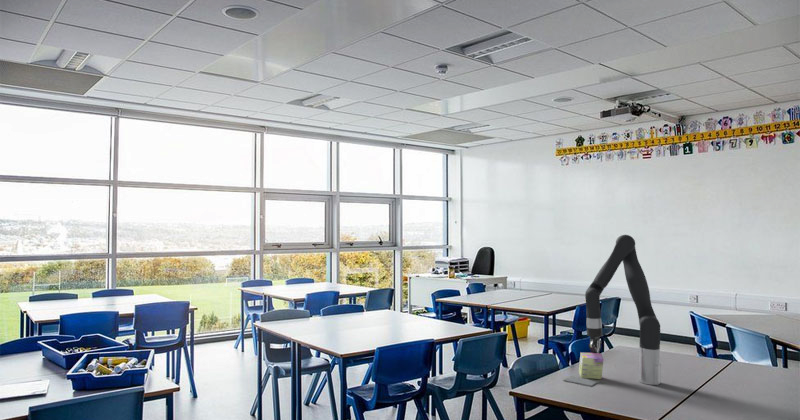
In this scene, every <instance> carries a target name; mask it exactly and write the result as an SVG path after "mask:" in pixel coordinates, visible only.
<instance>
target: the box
mask: <svg viewBox="0 0 800 420" xmlns="http://www.w3.org/2000/svg"><path fill="white" fill-rule="evenodd" d="M579 356H580V357H579V363H578V364H579V365H578V374H579V377H580V378H585V379H592V380H594V379H597V380H602V376H603V367H604V361H605V360H604V356H603V355H602V353H600V352H599V353H592V352H581V351H580V355H579Z"/></svg>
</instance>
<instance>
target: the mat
mask: <svg viewBox="0 0 800 420" xmlns="http://www.w3.org/2000/svg"><path fill="white" fill-rule="evenodd" d="M563 382H567V383H572V384H576V385H581V386H586V387H590V388H591V387H593V386H596V385H597V384H598V383H599V382H600V381H598V380H594V379H591V378H581V377H580V376H579V377H578V376H575V375H574V376H573V375H570V376H568V377H566V378H564V379H563Z"/></svg>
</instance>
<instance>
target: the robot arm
mask: <svg viewBox="0 0 800 420" xmlns="http://www.w3.org/2000/svg"><path fill="white" fill-rule="evenodd" d="M636 250H637V249H636V241H635V239H634V238H633V236H631V235H629V234H621V235H620V236H618V237H617V238H616V240H615V244H614V247H613V249H612V251H611V253H610V256H608V258H607V260H606V262H605V263H603V265H602V266H601V268H600V269H599V271H598V272H597V274H596V275H595V277H594V279H593V281H592V282H591V283H590V285H589V286H588V287H587V289H586V291H585V293H584V294H585V295H584V297H585V306H586V307H585V308H586V310H585V311H586V312H585V313H586V321H585V322H586V335H587V337H590V340H589V343H588V347H589V351H590V353H600V351H601V348H602V347H601V346H602V342H603V341H602V340H601V339H600V337H602V336H603V325H602V324H603V322H602V318H601V317H602V316H601V315H602V314H601V308H600V307H601V304H600V301H601V300H600V297H601V294H602V293H603V292H604V289H605V288H606V287H607V286H609V284H610V282H611V281H612V278H613V277H614V275H615V274H616V271H618V268H619V267H620V265H621V264H622V263H623V270H624V276H625V280H626V283H627V287H628V290H629V293H630V296H631V299H632V301H633V302H634V305H635V308H636V311H637V318H638V324H639V356H638V357H639V359H638V360H639V365H638V366H639V378H638V379H639V382H640V383H641V384H645V385H653V386H659V385H660V384H662V364H661V363H660V361H661V360H660V358H661V356H660V353H661V323H660V322H659V321H660V320H658V317H657V315H656V314H655V311H654V308H653V306H652V301H651V300H652V299H651V293H650V289H649V284H648V281H647V278H646V276H645V272H644V270H643V268H642V266H641V264H640V262H639V259H638V255H637V251H636Z"/></svg>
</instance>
